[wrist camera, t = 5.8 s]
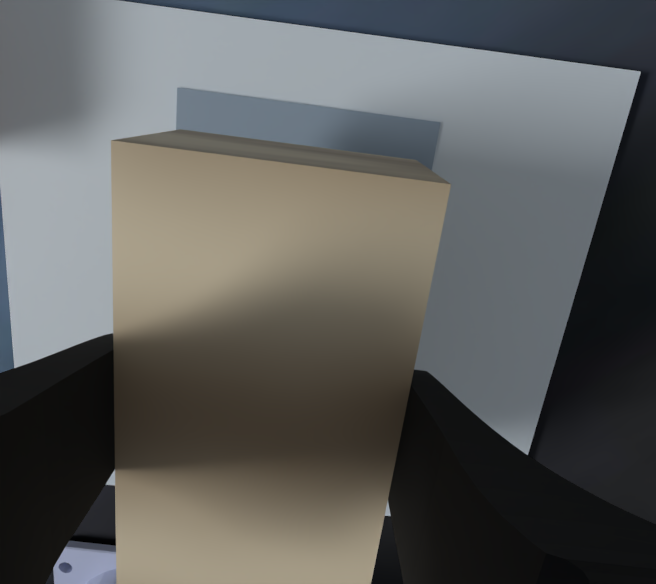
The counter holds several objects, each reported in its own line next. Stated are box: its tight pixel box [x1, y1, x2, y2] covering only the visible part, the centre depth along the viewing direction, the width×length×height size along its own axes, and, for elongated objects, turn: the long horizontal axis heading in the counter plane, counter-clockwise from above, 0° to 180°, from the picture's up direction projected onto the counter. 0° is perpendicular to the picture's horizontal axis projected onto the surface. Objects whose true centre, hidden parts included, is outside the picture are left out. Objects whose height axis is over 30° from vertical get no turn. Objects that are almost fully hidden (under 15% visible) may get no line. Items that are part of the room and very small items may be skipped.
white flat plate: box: [0, 0, 641, 516], centre depth 17 cm, size 16×18×1 cm
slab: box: [111, 129, 451, 584], centre depth 12 cm, size 10×6×4 cm, turn 173°
